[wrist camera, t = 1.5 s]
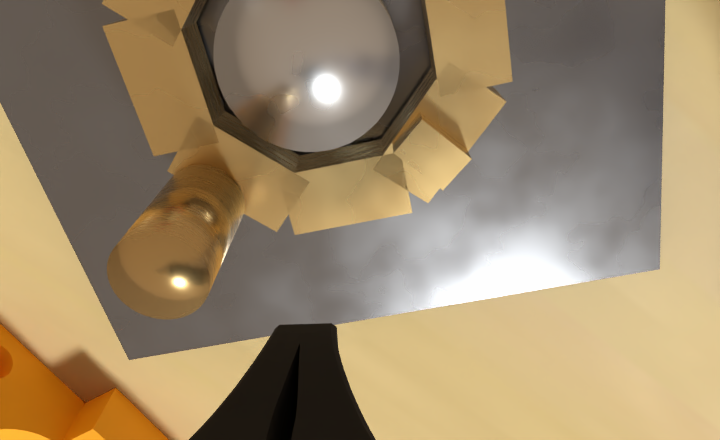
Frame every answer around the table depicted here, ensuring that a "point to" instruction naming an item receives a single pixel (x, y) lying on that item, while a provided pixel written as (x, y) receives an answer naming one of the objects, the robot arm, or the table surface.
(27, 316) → the table surface
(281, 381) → the robot arm
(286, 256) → the housing
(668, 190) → the table surface
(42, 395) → the pipe clamp
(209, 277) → the ring nut
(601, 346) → the table surface
